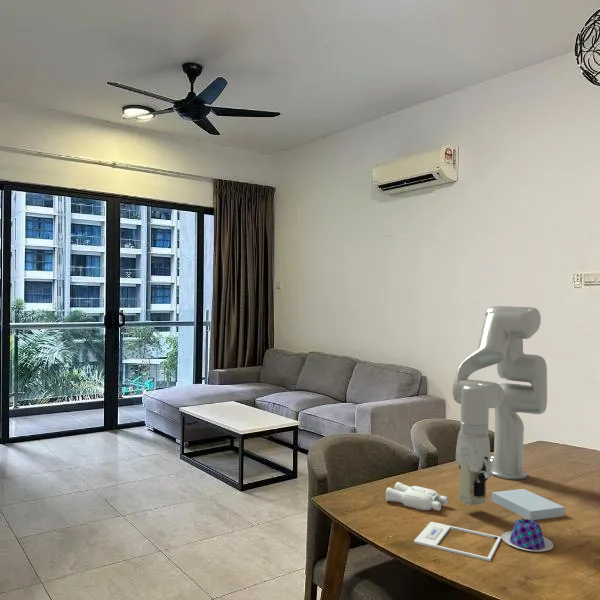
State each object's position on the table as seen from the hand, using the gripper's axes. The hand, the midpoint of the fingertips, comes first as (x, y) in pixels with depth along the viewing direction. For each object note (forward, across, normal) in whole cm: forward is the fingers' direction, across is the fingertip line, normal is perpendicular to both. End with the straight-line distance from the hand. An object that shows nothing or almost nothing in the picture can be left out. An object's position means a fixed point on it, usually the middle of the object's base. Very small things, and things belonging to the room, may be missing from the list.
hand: (472, 491), depth 161 cm
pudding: (+6, +22, -1) cm, 22 cm away
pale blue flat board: (+6, +2, +17) cm, 19 cm away
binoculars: (+6, -10, -12) cm, 17 cm away
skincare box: (+3, 0, 0) cm, 3 cm away
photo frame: (+6, +16, -17) cm, 23 cm away
